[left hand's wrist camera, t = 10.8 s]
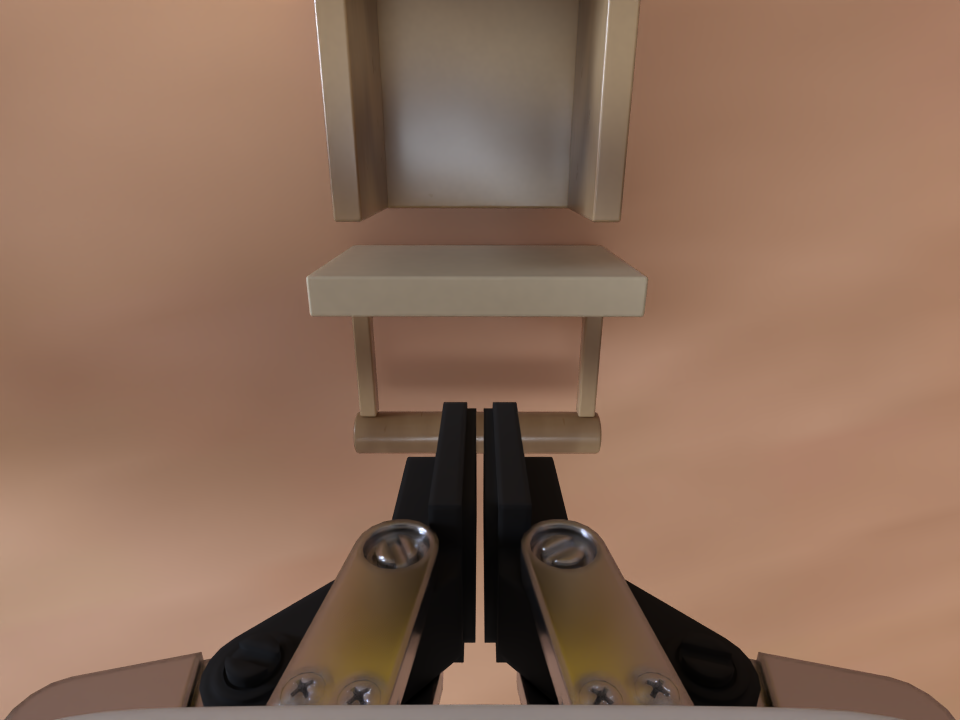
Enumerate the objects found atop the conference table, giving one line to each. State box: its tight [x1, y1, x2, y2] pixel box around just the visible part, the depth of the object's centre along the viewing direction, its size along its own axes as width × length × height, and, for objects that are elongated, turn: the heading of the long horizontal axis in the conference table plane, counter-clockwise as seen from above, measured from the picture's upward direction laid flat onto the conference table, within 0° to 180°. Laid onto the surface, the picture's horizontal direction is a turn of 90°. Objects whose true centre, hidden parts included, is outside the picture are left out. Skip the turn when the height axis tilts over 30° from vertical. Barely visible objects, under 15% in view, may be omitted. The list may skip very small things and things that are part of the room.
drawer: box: [306, 0, 648, 454], centre depth 16 cm, size 23×10×6 cm, turn 0°
